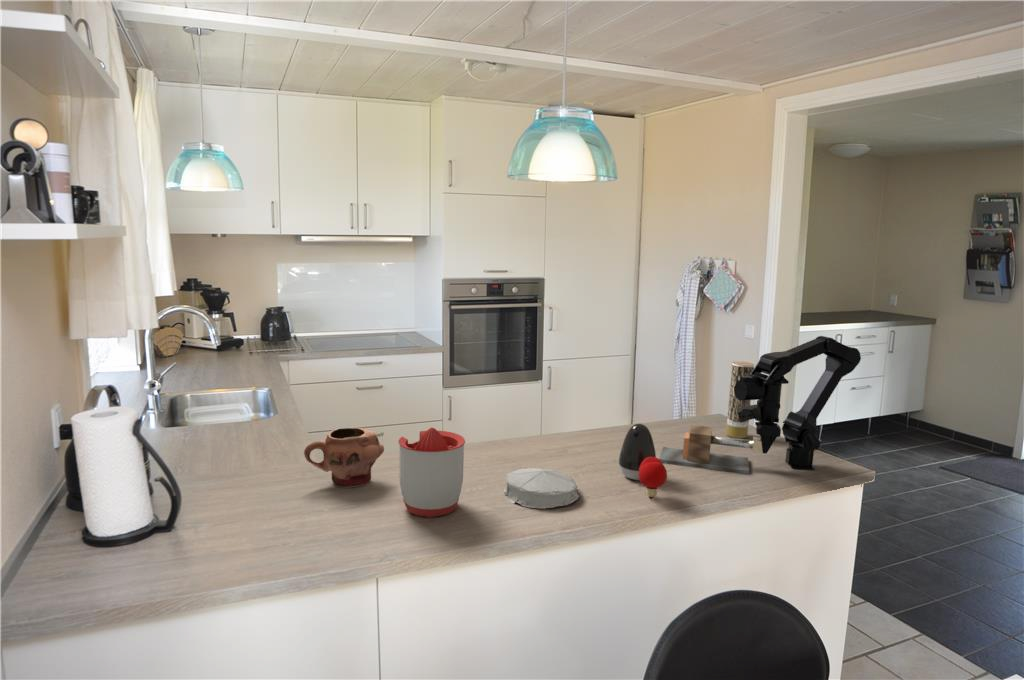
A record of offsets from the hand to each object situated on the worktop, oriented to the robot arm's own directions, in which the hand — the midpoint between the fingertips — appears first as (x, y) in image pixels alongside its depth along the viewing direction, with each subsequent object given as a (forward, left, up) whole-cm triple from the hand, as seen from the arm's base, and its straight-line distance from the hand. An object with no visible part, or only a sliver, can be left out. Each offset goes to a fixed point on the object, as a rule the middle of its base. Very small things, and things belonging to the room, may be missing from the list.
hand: (764, 451), depth 193 cm
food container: (+64, +26, -6) cm, 69 cm away
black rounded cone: (+38, +11, -6) cm, 40 cm away
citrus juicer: (+91, +38, -6) cm, 99 cm away
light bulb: (+36, +25, -6) cm, 44 cm away
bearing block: (+16, -4, -6) cm, 17 cm away
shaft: (+9, -2, 0) cm, 9 cm away
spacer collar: (+21, -6, -4) cm, 22 cm away
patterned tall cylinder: (-1, -32, -6) cm, 32 cm away
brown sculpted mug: (+115, +26, -6) cm, 118 cm away
